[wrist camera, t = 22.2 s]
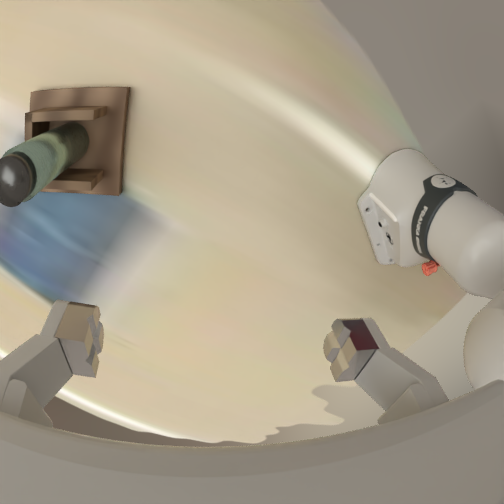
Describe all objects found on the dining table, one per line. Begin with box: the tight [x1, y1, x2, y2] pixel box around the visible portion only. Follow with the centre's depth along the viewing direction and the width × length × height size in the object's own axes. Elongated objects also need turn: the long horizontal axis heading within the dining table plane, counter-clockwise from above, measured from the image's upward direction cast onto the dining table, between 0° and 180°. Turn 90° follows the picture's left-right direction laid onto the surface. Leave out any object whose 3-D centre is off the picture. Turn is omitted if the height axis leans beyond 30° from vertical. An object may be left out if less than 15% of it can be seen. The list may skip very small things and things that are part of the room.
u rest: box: [25, 87, 130, 196], centre depth 31 cm, size 15×15×6 cm
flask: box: [0, 122, 89, 207], centre depth 26 cm, size 6×6×16 cm
